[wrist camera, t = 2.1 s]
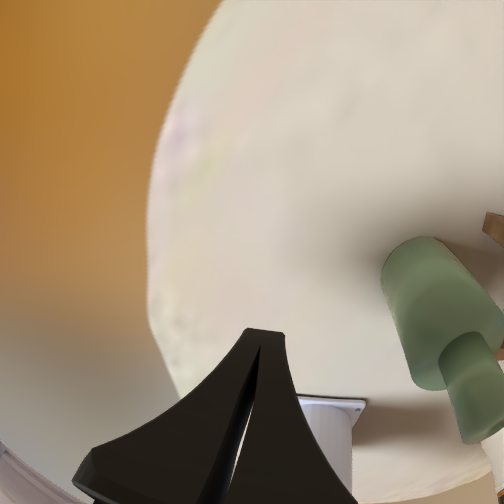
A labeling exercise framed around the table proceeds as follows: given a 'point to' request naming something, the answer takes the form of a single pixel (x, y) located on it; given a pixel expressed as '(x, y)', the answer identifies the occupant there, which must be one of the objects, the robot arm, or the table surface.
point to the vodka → (496, 460)
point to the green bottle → (448, 332)
